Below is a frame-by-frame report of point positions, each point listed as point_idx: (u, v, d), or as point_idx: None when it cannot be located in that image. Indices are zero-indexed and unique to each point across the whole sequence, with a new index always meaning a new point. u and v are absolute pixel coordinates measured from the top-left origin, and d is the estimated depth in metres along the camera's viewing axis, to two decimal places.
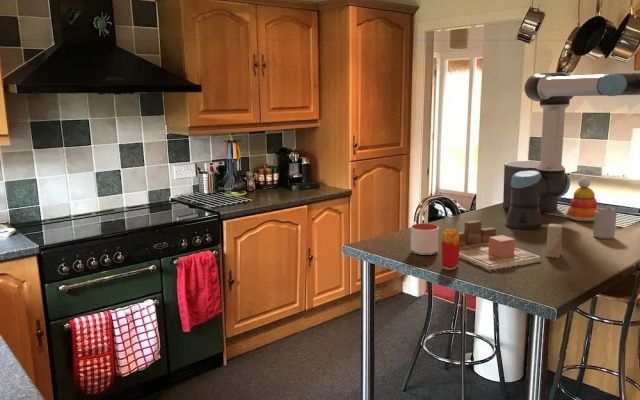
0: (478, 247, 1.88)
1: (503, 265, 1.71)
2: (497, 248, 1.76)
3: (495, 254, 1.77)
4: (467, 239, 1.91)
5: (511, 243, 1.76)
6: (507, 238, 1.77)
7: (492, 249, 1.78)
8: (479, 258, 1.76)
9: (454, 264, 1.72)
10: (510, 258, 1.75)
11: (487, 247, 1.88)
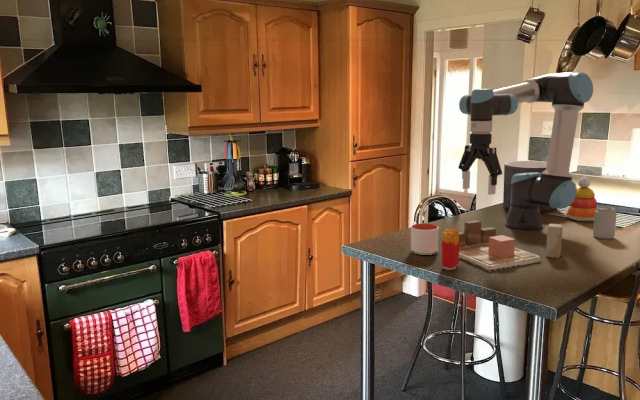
0: (478, 247, 1.88)
1: (503, 265, 1.71)
2: (497, 248, 1.76)
3: (495, 254, 1.77)
4: (467, 239, 1.91)
5: (511, 243, 1.76)
6: (507, 238, 1.77)
7: (492, 249, 1.78)
8: (479, 258, 1.76)
9: (454, 264, 1.72)
10: (510, 258, 1.75)
11: (487, 247, 1.88)
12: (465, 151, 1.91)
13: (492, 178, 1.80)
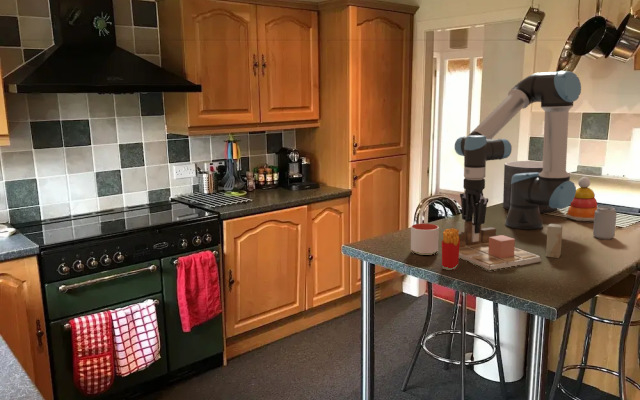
0: (478, 247, 1.88)
1: (503, 265, 1.71)
2: (496, 248, 1.76)
3: (495, 254, 1.77)
4: (467, 239, 1.91)
5: (511, 243, 1.76)
6: (507, 238, 1.77)
7: (492, 249, 1.78)
8: (479, 258, 1.76)
9: (454, 264, 1.72)
10: (510, 258, 1.75)
11: (487, 247, 1.88)
12: (462, 199, 1.94)
13: (475, 226, 1.89)
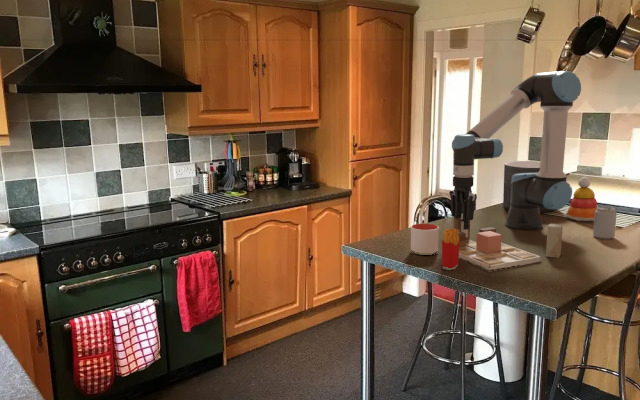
0: (467, 243, 1.94)
1: (503, 265, 1.71)
2: (484, 243, 1.82)
3: (482, 249, 1.83)
4: None
5: (498, 238, 1.82)
6: (494, 234, 1.83)
7: (480, 244, 1.84)
8: (479, 258, 1.76)
9: (454, 264, 1.72)
10: (497, 253, 1.81)
11: (475, 243, 1.94)
12: (451, 196, 2.00)
13: (464, 223, 1.95)
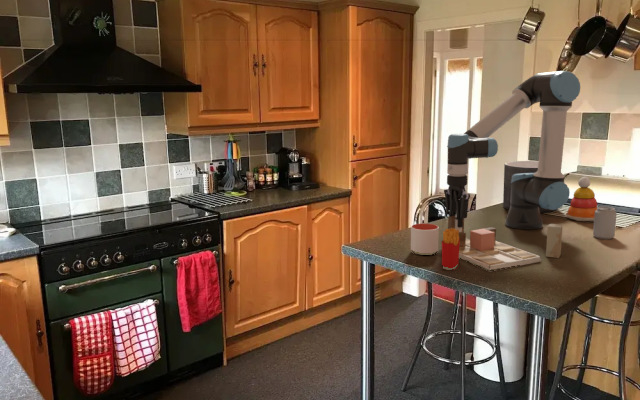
0: None
1: (503, 265, 1.71)
2: (477, 241, 1.85)
3: (476, 247, 1.86)
4: None
5: (491, 236, 1.85)
6: (487, 232, 1.86)
7: (473, 242, 1.87)
8: (479, 258, 1.76)
9: (454, 264, 1.72)
10: (490, 250, 1.84)
11: (469, 240, 1.97)
12: (446, 195, 2.03)
13: (458, 221, 1.98)
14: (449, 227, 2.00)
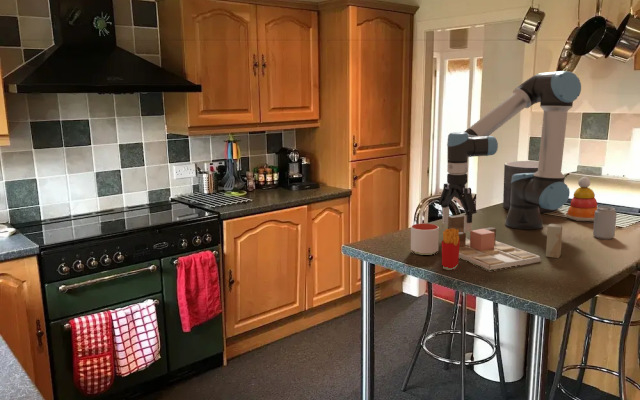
0: None
1: (503, 265, 1.71)
2: (477, 241, 1.85)
3: (476, 247, 1.86)
4: None
5: (491, 236, 1.85)
6: (487, 232, 1.86)
7: (473, 242, 1.87)
8: (479, 258, 1.76)
9: (454, 264, 1.72)
10: (490, 250, 1.84)
11: (469, 240, 1.97)
12: (444, 189, 2.04)
13: (467, 216, 1.93)
14: (449, 227, 2.00)
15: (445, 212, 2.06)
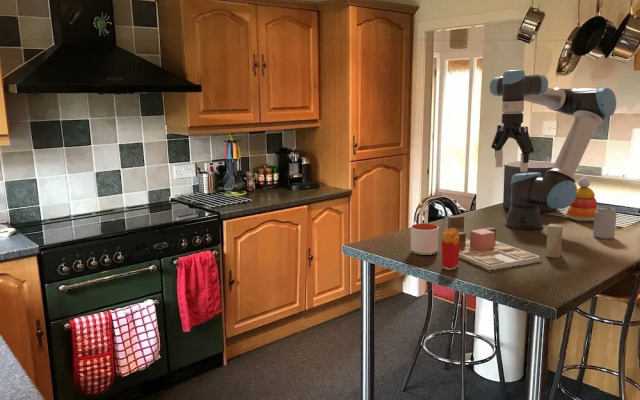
0: None
1: (503, 265, 1.71)
2: (477, 241, 1.85)
3: (476, 247, 1.86)
4: None
5: (491, 236, 1.85)
6: (487, 232, 1.86)
7: (473, 242, 1.87)
8: (479, 258, 1.76)
9: (454, 264, 1.72)
10: (490, 250, 1.84)
11: (469, 240, 1.97)
12: (498, 131, 1.99)
13: (524, 156, 1.88)
14: (449, 227, 2.00)
15: (498, 155, 2.01)
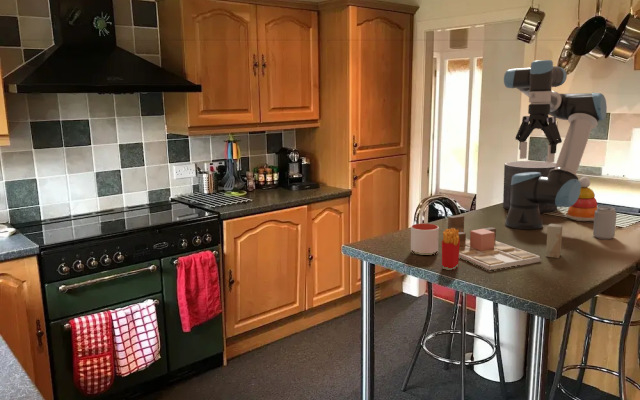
0: None
1: (503, 265, 1.71)
2: (477, 241, 1.85)
3: (476, 247, 1.86)
4: None
5: (491, 236, 1.85)
6: (487, 232, 1.86)
7: (473, 242, 1.87)
8: (479, 258, 1.76)
9: (454, 264, 1.72)
10: (490, 250, 1.84)
11: (469, 240, 1.97)
12: (523, 122, 1.98)
13: (551, 146, 1.87)
14: (449, 227, 2.00)
15: (523, 147, 2.00)
